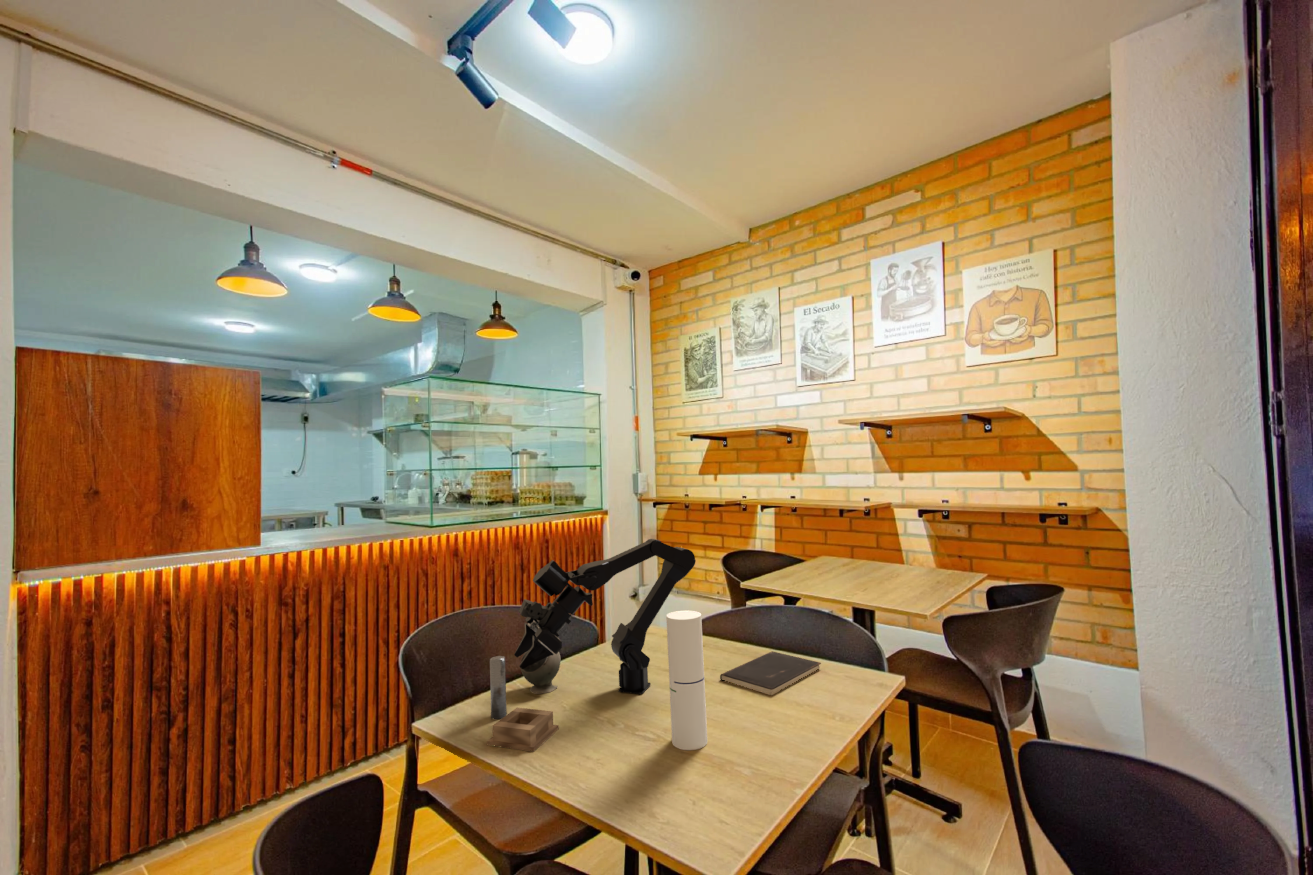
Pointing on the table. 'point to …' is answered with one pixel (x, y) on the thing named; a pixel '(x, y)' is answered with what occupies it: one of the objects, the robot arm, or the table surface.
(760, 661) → the hardcover book
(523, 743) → the socket board
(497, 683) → the steel pin
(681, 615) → the cylindrical container
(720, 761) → the table surface
